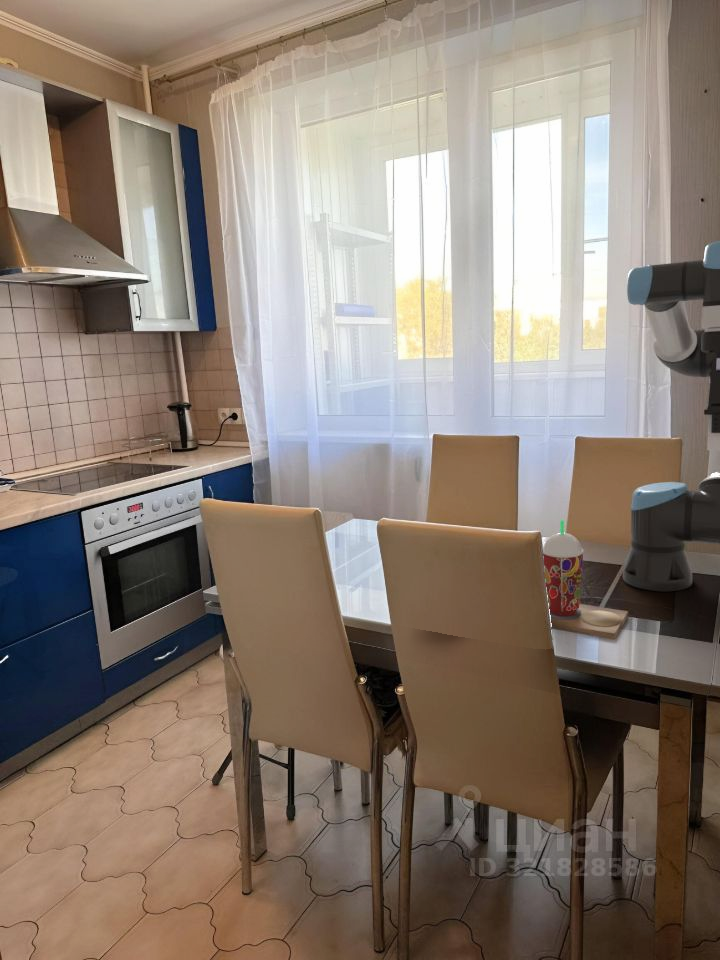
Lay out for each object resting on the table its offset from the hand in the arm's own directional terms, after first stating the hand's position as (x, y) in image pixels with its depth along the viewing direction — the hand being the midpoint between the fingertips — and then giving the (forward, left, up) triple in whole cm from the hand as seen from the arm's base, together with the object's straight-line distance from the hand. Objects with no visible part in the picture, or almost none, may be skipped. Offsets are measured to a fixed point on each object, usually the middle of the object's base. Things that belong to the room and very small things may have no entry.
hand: (719, 444), depth 126 cm
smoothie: (+8, -27, -36) cm, 46 cm away
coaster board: (+8, -23, -37) cm, 44 cm away
